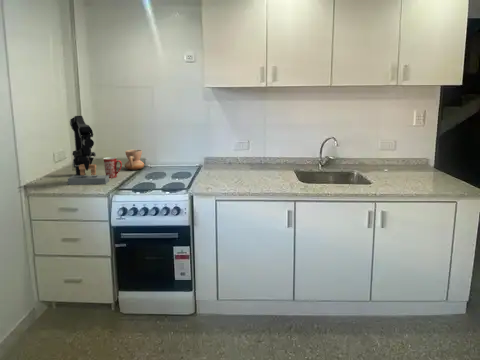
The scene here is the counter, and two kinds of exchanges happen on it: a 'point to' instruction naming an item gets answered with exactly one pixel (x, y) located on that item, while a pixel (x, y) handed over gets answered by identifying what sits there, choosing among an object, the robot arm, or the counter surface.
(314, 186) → the counter surface
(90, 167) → the tan pronged block
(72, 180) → the rail
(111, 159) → the mug
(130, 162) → the ceramic jug
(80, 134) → the robot arm
